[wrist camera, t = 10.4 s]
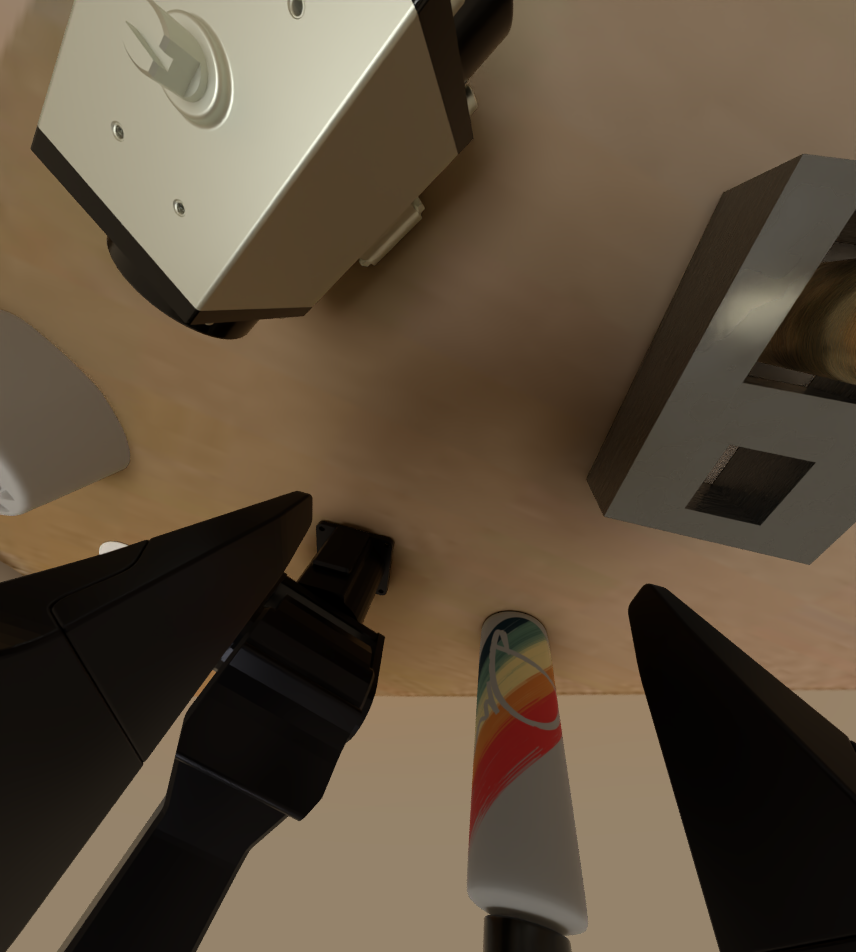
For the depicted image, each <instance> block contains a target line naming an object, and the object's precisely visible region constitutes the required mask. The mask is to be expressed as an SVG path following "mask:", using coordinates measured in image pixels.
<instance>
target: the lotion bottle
mask: <svg viewBox="0 0 856 952" xmlns="http://www.w3.org/2000/svg"><path fill="white" fill-rule="evenodd" d="M474 745H475V746H474V763H473V779H472V796H471V813H470V831H469V849H468V850H469V851H468V869H467V892H468V895H469V898H470V899H471V900H472V901H473V902H474V903H475V904H476V905H477V906H478V907H480V908H481V909H483V910H484V911H486V912H487V913H489V914H490V915H487V916H485V918H484V944H483V952H572V951H571V944H570V941H569V940H568V939H567V938H566V937H565V935H576V934H580V933H583V932H585V931H586V929H587V926H588V916H587V908H586V900H585V892H584V885H583V878H582V870H581V863H580V856H579V849H578V842H577V835H576V828H575V821H574V814H573V807H572V800H571V793H570V786H569V779H568V772H567V765H566V759H565V751H564V744H563V737H562V730H561V723H560V716H559V710H558V702H557V695H556V688H555V681H554V674H553V667H552V660H551V653H550V647H549V641H548V636H547V633H546V630H545V628H544V626H543V625H542V624H541V623H540V622H539V621H538V620H536V619H535V618H533V617H532V616H529V615H527V614H524V613H520V612H511V611H508V612H500V613H497V614H494V615H492V616H490V617H489V618H488V619H487V620H486V621H485V622H484V624H483V627H482V632H481V642H480V658H479V675H478V692H477V709H476V727H475V744H474Z"/></svg>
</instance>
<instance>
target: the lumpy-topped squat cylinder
mask: <svg viewBox="0 0 856 952" xmlns="http://www.w3.org/2000/svg"><path fill="white" fill-rule="evenodd" d="M129 461H130V451H129V446H128V442H127V439H126V436H125V433H124V431H123V428H122V426H121V425H120V423H119V421H118V419H117V417H116V415H115V414H114V412H113V410H112V409H111V407H110V405H109V404H108V402H107V401H106V399H105V397H104V396H103V394H102V393H101V392H100V390H99V389H98V388H97V387H96V386H95V385H94V383H93V382H92V381H91V380H90V379H89V378H88V377H87V376H86V375H85V374H84V373H83V372H82V371H81V370H80V369H79V368H78V367H77V366H76V365H75V364H74V363H73V362H72V361H71V360H70V359H68V358H67V357H66V356H65V355H64V354H63V353H62V352H61V351H60V350H59V349H58V348H56V347H55V346H54V345H53V344H52V343H51V342H49V341H48V340H47V339H46V338H45V337H43V336H42V335H41V334H40V333H39V332H38V331H36V330H35V329H34V328H33V327H32V326H30V325H29V324H28V323H26V322H25V321H23V320H22V319H20V318H19V317H17V316H15V315H13V314H11V313H9V312H6V311H3V310H0V515H9V516H15V515H20V514H24V513H26V512H28V511H30V510H33V509H35V508H37V507H40V506H42V505H44V504H47V503H49V502H51V501H53V500H56V499H58V498H60V497H62V496H65V495H67V494H69V493H71V492H74V491H76V490H78V489H81V488H83V487H85V486H87V485H90V484H92V483H94V482H96V481H99V480H101V479H103V478H105V477H107V476H110V475H112V474H114V473H116V472H119V471H121V470H123V469H125V468H126V467H127V466H128V464H129Z"/></svg>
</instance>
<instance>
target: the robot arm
mask: <svg viewBox="0 0 856 952" xmlns="http://www.w3.org/2000/svg"><path fill="white" fill-rule="evenodd" d="M311 523H312V496H311V495H310V494H308V493H304V492H300V491H294V492H291V493H288V494H285V495H282V496H279V497H276V498H273V499H270V500H267V501H264V502H261V503H258V504H255V505H252V506H248V507H245V508H242V509H239V510H236V511H233V512H230V513H227V514H224V515H221V516H218V517H215V518H212V519H209V520H206V521H203V522H199V523H196V524H193V525H190V526H187V527H184V528H181V529H178V530H175V531H172V532H169V533H166V534H163V535H160V536H157V537H153V538H151V539H150V540H144V541H141V542H138V543H135V544H132V545H129V546H126V547H123V548H119V549H116V550H113V551H110V552H107V553H103V554H100V555H97V556H94V557H90V558H87V559H83V560H80V561H76V562H73V563H69V564H66V565H62V566H59V567H55V568H52V569H48V570H44V571H41V572H37V573H33V574H30V575H26V576H22V577H19V578H15V579H11V580H8V581H4V582H1V583H0V952H6V951H7V949H8V948H9V947H10V946H11V944H12V943H13V942H14V941H15V939H16V938H17V937H18V935H19V934H20V933H21V931H22V930H23V929H24V927H25V926H26V924H27V923H28V922H29V920H30V919H31V917H32V916H33V915H34V913H35V912H36V911H37V909H38V908H39V907H40V905H41V904H42V903H43V901H44V900H45V898H46V897H47V896H48V894H49V893H50V891H51V890H52V889H53V887H54V886H55V885H56V883H57V882H58V881H59V879H60V878H61V877H62V875H63V874H64V873H65V871H66V870H67V868H68V867H69V866H70V864H71V863H72V861H73V860H74V859H75V857H76V856H77V855H78V853H79V852H80V851H81V849H82V848H83V847H84V845H85V844H86V842H87V841H88V840H89V838H90V837H91V835H92V834H93V833H94V832H95V830H96V829H97V827H98V826H99V825H100V823H101V822H102V820H103V819H104V818H105V816H106V815H107V814H108V812H109V811H110V810H111V808H112V807H113V805H114V804H115V803H116V801H117V800H118V799H119V797H120V796H121V795H122V793H123V792H124V790H125V789H126V788H127V786H128V785H129V784H130V782H131V781H132V780H133V778H134V777H135V775H136V774H137V773H138V771H139V770H140V769H141V767H142V766H143V762H145V761H146V760H147V759H148V757H149V756H150V754H151V753H152V752H153V750H154V749H155V748H156V746H157V745H158V744H159V742H160V741H161V739H162V738H163V737H164V735H165V734H166V733H167V731H168V730H169V729H170V727H171V726H172V724H173V723H174V722H175V720H176V719H177V717H178V716H179V715H180V713H181V712H182V711H183V709H184V708H185V707H186V705H187V704H188V703H189V701H190V700H191V698H192V697H193V696H194V694H195V693H196V692H197V690H198V689H199V688H200V686H201V685H202V683H203V682H204V681H205V679H206V678H207V677H208V675H209V674H210V672H211V671H212V670H214V671H216V673H215V675H214V676H213V677H212V679H211V680H210V681H209V683H208V684H207V685H206V687H205V688H204V689H203V691H202V692H201V693H200V695H199V696H198V697H197V699H196V700H195V701H194V703H193V704H192V705H191V706H190V708H189V709H188V711H187V713H186V715H185V718H184V721H183V725H182V729H181V734H180V738H179V742H178V746H177V751H176V755H175V759H174V764H173V768H172V773H171V776H170V781H169V785H168V789H167V793H166V796H165V797H164V799H163V800H162V801H161V803H160V804H159V806H158V807H157V809H156V810H155V812H154V813H153V814H152V816H151V817H150V819H149V820H148V822H147V823H146V824H145V826H144V827H143V829H142V830H141V832H140V833H139V835H138V836H137V838H136V839H135V840H134V842H133V843H132V845H131V846H130V847H129V849H128V850H127V852H126V854H125V855H124V856H123V858H122V859H121V861H120V862H119V863H118V865H117V866H116V868H115V869H114V871H113V872H112V873H111V875H110V876H109V878H108V879H107V881H106V882H105V883H104V885H103V886H102V888H101V889H100V891H99V892H98V894H97V895H96V896H95V898H94V899H93V901H92V902H91V904H90V905H89V906H88V908H87V909H86V911H85V912H84V914H83V915H82V917H81V918H80V920H79V921H78V922H77V924H76V925H75V927H74V928H73V930H72V931H71V932H70V934H69V935H68V937H67V938H66V940H65V941H64V942H63V944H62V945H61V947H60V948H59V950H58V951H57V952H196V951H197V948H198V947H199V945H200V943H201V941H202V939H203V937H204V935H205V933H206V931H207V930H208V928H209V926H210V924H211V922H212V920H213V918H214V916H215V914H216V912H217V910H218V909H219V907H220V905H221V903H222V901H223V899H224V897H225V895H226V893H227V891H228V890H229V887H230V886H231V884H232V882H233V880H234V878H235V876H236V874H237V872H238V871H239V869H240V867H241V865H242V863H243V861H244V860H245V858H246V856H247V854H248V853H249V851H250V850H251V848H252V847H254V846H255V845H256V844H257V843H258V842H259V841H260V840H262V839H263V838H264V837H265V836H266V835H267V834H268V833H270V831H272V830H273V829H274V828H275V827H277V826H278V825H279V824H280V823H281V822H282V821H283V820H284V819H286V818H287V817H288V816H290V817H292V818H294V819H296V820H298V821H300V820H302V819H303V818H304V817H305V816H306V815H307V814H308V813H309V812H310V811H311V810H312V809H313V808H314V806H315V805H316V804H317V803H318V802H319V801H320V800H321V798H322V797H323V794H324V792H325V790H326V787H327V785H328V782H329V780H330V777H331V775H332V773H333V770H334V768H335V765H336V763H337V760H338V758H339V756H340V754H341V751H342V749H343V747H344V745H345V743H346V742H348V741H349V740H351V738H352V737H353V736H354V735H355V734H356V732H357V731H358V729H359V728H360V726H361V725H362V723H363V721H364V720H365V717H366V716H367V713H368V711H369V709H370V707H371V704H372V702H373V699H374V696H375V693H376V688H377V683H378V676H379V670H380V664H381V658H382V651H383V645H384V639H385V637H384V636H383V635H381V634H380V633H376V632H374V631H372V630H371V629H369V628H368V627H366V626H365V625H363V624H362V623H363V621H364V619H365V616H366V614H367V612H368V609H369V607H370V605H371V602H372V600H373V598H374V595H375V594H378V595H385V594H386V592H387V590H388V583H389V575H390V568H391V560H392V552H393V545H394V543H393V541H392V540H391V539H390V538H387V537H383V536H380V535H376V534H372V533H368V532H364V531H360V530H356V529H352V528H348V527H345V526H341V525H337V524H333V523H329V522H325V521H320V522H319V523H318V524H317V526H316V538H317V554H316V555H315V557H314V558H313V560H312V561H311V562H310V564H309V565H308V566H307V568H306V569H305V571H304V572H303V573H302V575H301V576H300V577H299V579H298V580H297V582H296V581H294V580H293V579H291V578H289V577H288V576H287V574H286V573H284V571H285V569H286V567H287V566H288V564H289V562H290V561H291V559H292V557H293V555H294V554H295V552H296V550H297V548H298V547H299V545H300V543H301V541H302V540H303V538H304V536H305V534H306V533H307V531H308V529H309V527H310V525H311ZM323 527H324V528H323ZM385 543H387V544H388V545H387V544H385ZM628 615H629V621H630V626H631V632H632V637H633V642H634V648H635V653H636V659H637V664H638V669H639V673H640V677H641V681H642V685H643V688H644V692H645V695H646V699H647V702H648V705H649V709H650V712H651V716H652V719H653V723H654V726H655V730H656V733H657V737H658V740H659V743H660V747H661V750H662V754H663V757H664V761H665V764H666V768H667V771H668V775H669V778H670V781H671V785H672V788H673V792H674V795H675V799H676V802H677V806H678V809H679V813H680V816H681V819H682V823H683V826H684V830H685V833H686V836H687V840H688V844H689V847H690V851H691V853H692V857H693V861H694V864H695V868H696V871H697V875H698V878H699V882H700V885H701V888H702V892H703V895H704V898H705V902H706V906H707V909H708V913H709V916H710V920H711V923H712V926H713V930H714V933H715V937H716V940H717V944H718V947H719V951H720V952H856V743H855V742H853V741H850V740H849V738H848V737H847V736H846V735H845V734H844V733H843V732H842V731H840V730H839V729H838V728H836V727H835V726H834V725H833V724H832V723H830V722H829V721H828V720H827V719H826V718H824V717H823V716H822V715H821V714H819V713H818V712H817V711H816V710H814V709H813V708H812V707H811V706H810V705H808V704H807V703H806V702H805V701H804V700H802V699H801V698H800V697H799V696H797V695H796V694H795V693H794V692H792V691H791V690H790V689H789V688H788V687H786V686H785V685H784V684H783V683H781V682H780V681H779V680H778V679H777V678H775V677H774V676H773V675H772V674H770V673H769V672H768V671H767V670H766V669H764V668H763V667H762V666H761V665H759V664H758V663H757V662H756V661H754V660H753V659H752V658H751V657H750V656H748V655H747V654H746V653H745V652H743V651H742V650H741V649H740V648H739V647H737V646H736V645H735V644H734V643H732V642H731V641H730V640H729V639H728V638H726V637H725V636H724V635H723V634H721V633H720V632H719V631H718V630H716V629H715V628H714V627H713V626H712V625H710V624H709V623H708V622H707V621H705V620H704V619H703V618H702V617H701V616H699V615H698V614H697V613H696V612H694V611H693V610H692V609H691V608H690V607H688V606H687V605H686V604H685V603H683V602H682V601H681V600H680V599H678V598H677V597H676V596H675V595H674V594H672V593H671V592H670V591H669V590H667V589H666V588H664V587H661V586H657V585H653V584H645V585H644V586H643V587H642V588H641V589H640V591H639V592H638V593H637V595H636V596H635V597H634V599H633V600H632V601H631V603H630V605H629V608H628Z"/></svg>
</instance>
